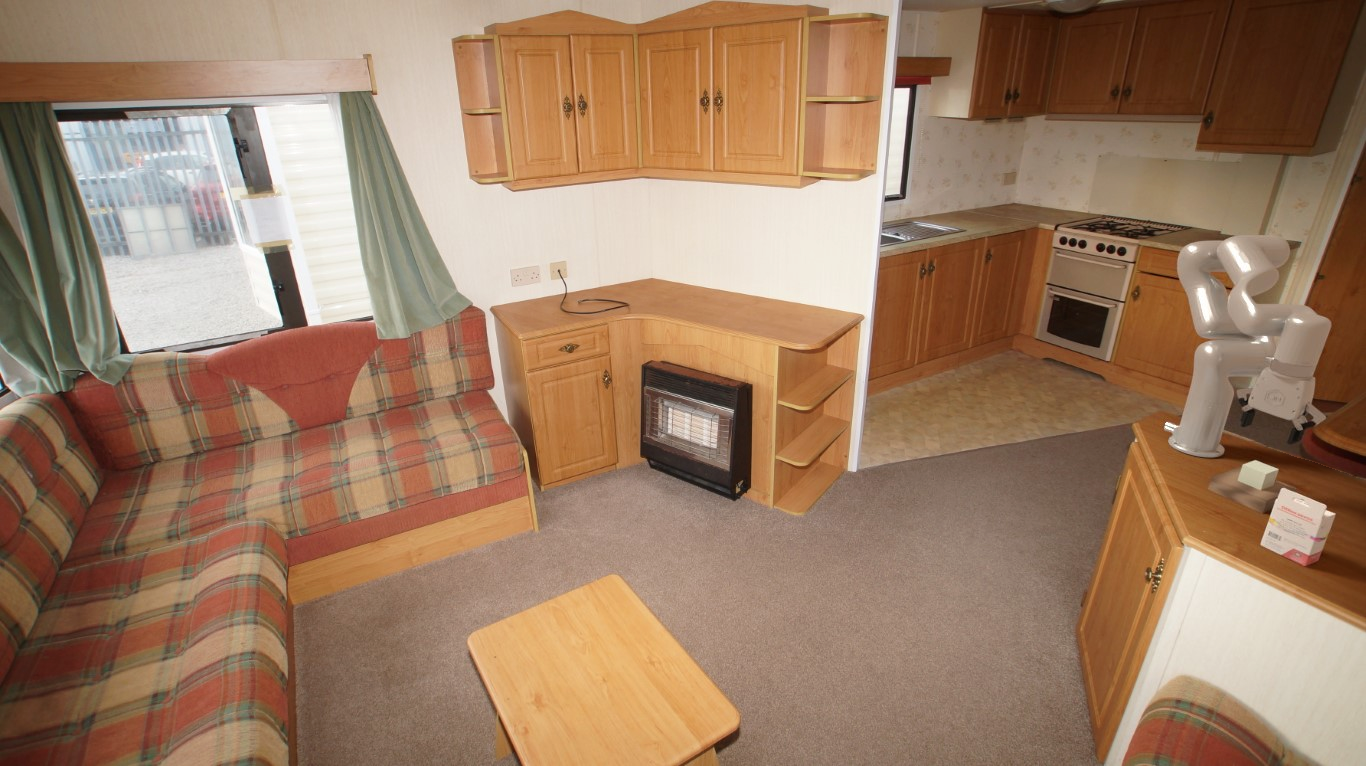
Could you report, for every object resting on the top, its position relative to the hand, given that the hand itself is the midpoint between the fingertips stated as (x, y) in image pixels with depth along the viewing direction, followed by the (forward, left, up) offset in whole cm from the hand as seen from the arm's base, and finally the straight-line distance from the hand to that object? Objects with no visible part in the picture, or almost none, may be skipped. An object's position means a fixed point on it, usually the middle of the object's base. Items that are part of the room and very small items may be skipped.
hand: (1268, 434), depth 157 cm
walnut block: (0, 0, -17) cm, 17 cm away
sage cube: (+1, 0, -13) cm, 13 cm away
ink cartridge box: (+17, -18, -17) cm, 30 cm away
